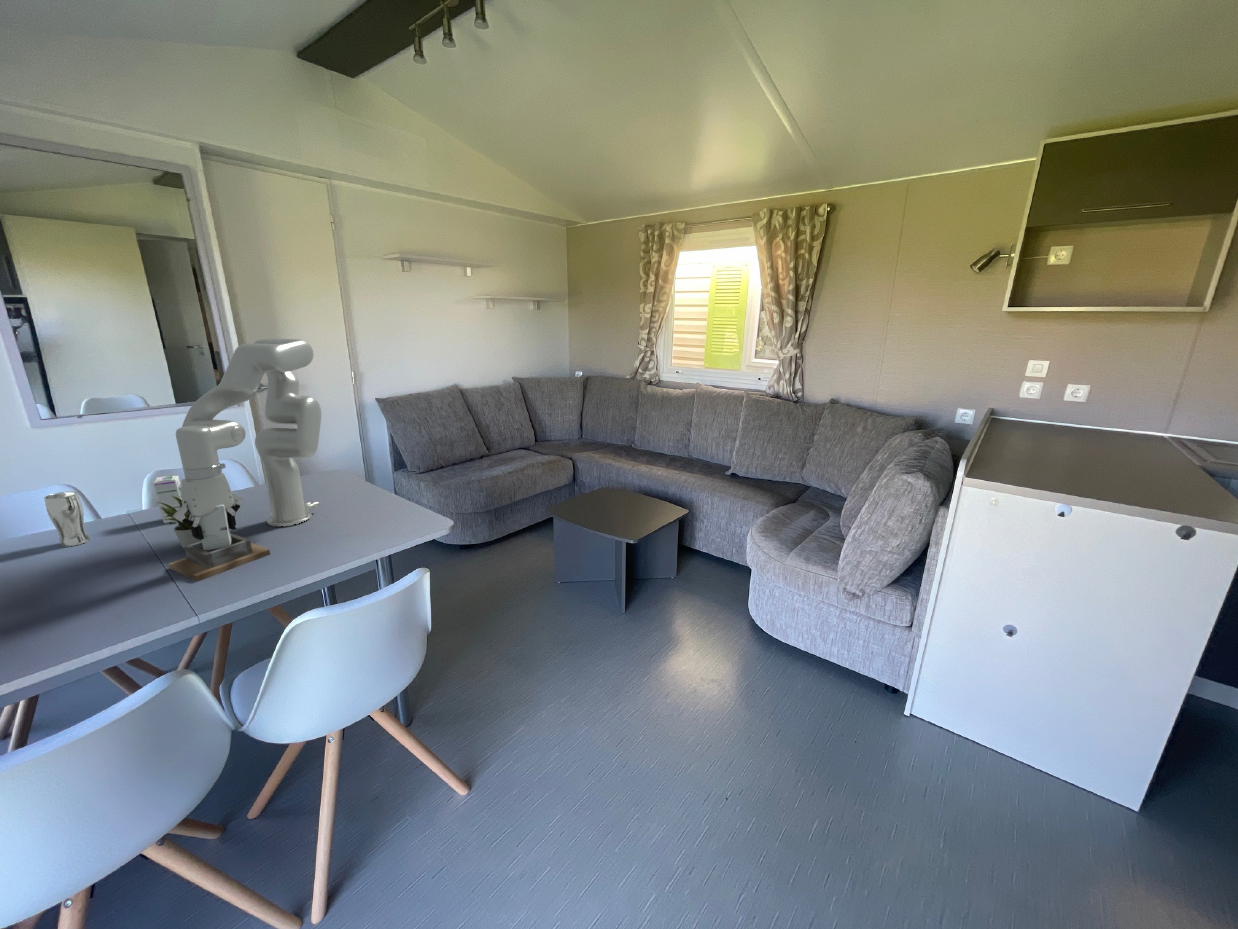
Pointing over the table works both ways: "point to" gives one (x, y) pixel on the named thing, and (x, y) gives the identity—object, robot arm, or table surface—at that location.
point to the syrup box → (168, 493)
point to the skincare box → (215, 529)
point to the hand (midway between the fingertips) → (215, 533)
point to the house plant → (180, 525)
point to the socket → (217, 558)
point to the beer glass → (67, 517)
